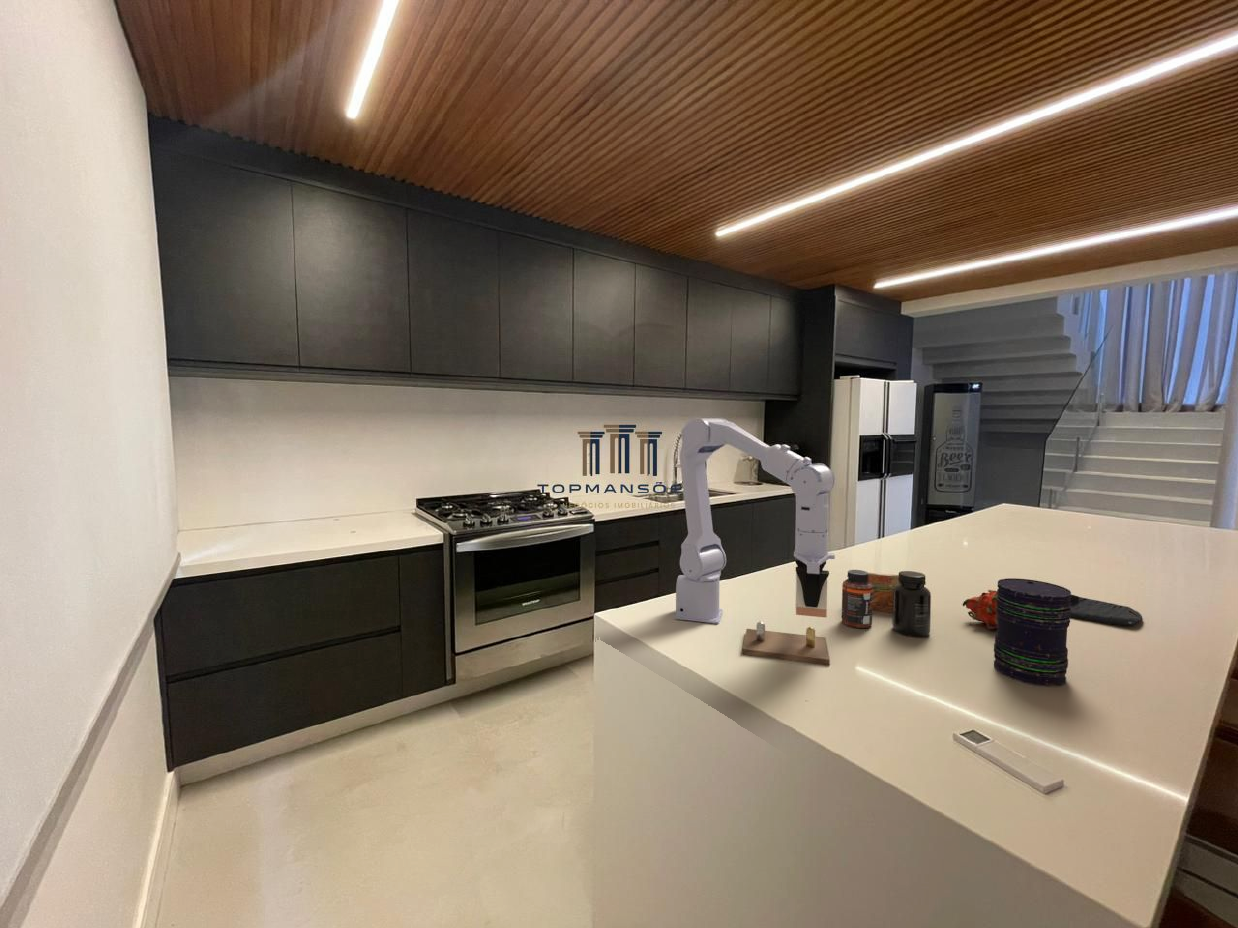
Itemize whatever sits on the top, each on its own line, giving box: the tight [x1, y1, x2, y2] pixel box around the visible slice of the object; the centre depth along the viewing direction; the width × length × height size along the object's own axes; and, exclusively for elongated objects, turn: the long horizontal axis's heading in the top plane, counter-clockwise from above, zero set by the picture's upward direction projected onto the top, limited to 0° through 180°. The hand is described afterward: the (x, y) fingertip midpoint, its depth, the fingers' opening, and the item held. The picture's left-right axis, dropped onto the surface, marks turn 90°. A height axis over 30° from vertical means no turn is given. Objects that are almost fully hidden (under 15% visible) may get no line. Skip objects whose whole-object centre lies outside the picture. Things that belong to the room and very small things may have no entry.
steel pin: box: [756, 621, 766, 642], centre depth 99 cm, size 2×2×4 cm
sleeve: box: [795, 572, 828, 618], centre depth 96 cm, size 5×5×7 cm
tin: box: [868, 572, 899, 614], centre depth 117 cm, size 15×3×8 cm, turn 68°
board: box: [742, 628, 831, 666], centre depth 98 cm, size 15×10×1 cm, turn 72°
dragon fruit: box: [962, 589, 998, 631], centre depth 106 cm, size 8×8×12 cm
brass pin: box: [805, 626, 816, 648], centre depth 96 cm, size 2×2×4 cm
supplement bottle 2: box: [891, 570, 932, 638], centre depth 105 cm, size 7×7×12 cm
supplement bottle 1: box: [841, 569, 874, 629], centre depth 109 cm, size 6×6×11 cm
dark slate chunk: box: [1070, 594, 1143, 626], centre depth 116 cm, size 15×22×5 cm
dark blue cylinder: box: [993, 577, 1072, 688], centre depth 87 cm, size 10×10×15 cm
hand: (810, 601), depth 96 cm, fingers closed on sleeve, 5 cm apart
